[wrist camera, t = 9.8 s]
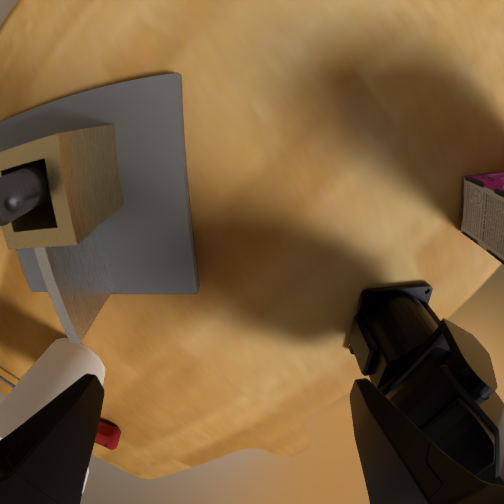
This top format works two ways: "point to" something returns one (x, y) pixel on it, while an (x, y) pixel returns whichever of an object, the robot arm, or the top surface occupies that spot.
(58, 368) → the foam cup
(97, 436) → the screwdriver
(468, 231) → the candy bar box
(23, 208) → the hinge pin
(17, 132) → the base plate
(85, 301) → the hinge
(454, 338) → the robot arm
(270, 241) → the top surface
